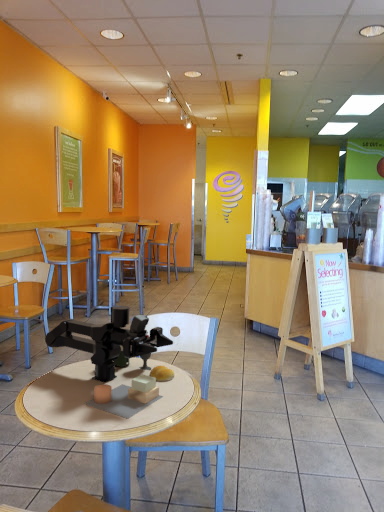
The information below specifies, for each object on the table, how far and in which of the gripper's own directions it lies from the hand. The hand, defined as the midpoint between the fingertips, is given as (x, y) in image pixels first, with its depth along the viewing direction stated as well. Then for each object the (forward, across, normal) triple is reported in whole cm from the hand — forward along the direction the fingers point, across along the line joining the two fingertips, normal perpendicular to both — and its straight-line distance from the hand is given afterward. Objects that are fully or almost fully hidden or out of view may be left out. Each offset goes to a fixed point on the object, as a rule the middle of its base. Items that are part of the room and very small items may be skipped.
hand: (165, 346), depth 130 cm
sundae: (-19, +16, +17) cm, 30 cm away
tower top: (-4, -5, +13) cm, 15 cm away
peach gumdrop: (-13, -14, +16) cm, 25 cm away
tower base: (-4, -5, +16) cm, 17 cm away
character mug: (-29, +14, +17) cm, 37 cm away
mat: (-8, -10, +16) cm, 21 cm away
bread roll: (-9, +13, +17) cm, 23 cm away
